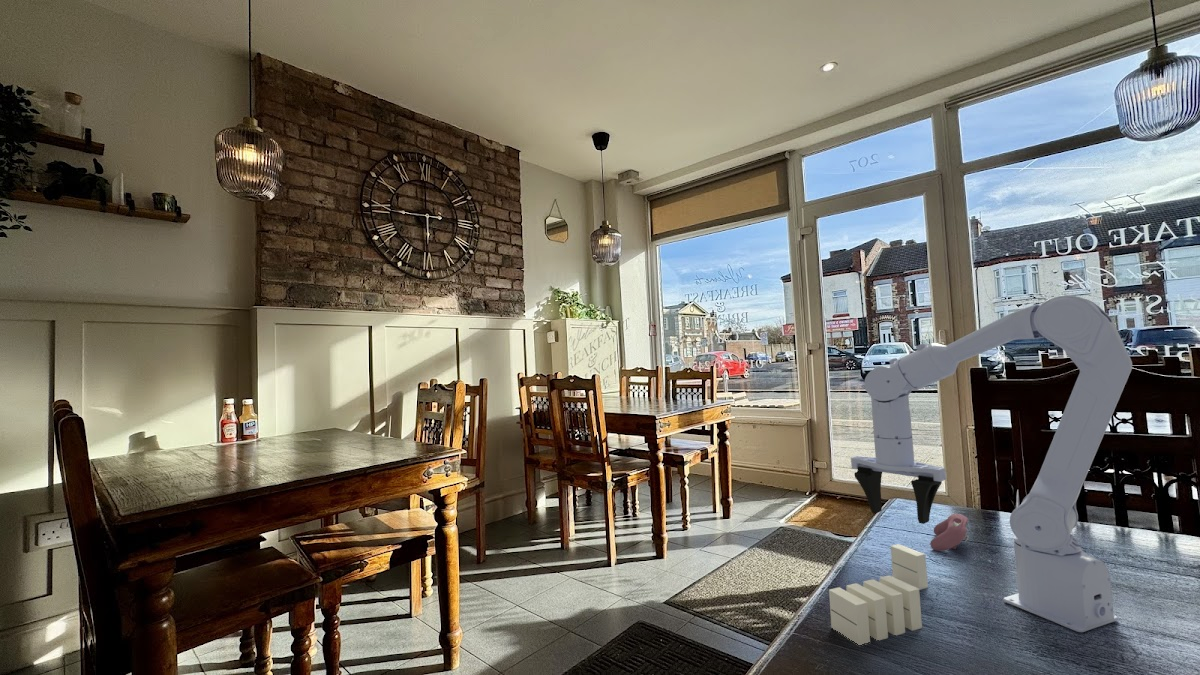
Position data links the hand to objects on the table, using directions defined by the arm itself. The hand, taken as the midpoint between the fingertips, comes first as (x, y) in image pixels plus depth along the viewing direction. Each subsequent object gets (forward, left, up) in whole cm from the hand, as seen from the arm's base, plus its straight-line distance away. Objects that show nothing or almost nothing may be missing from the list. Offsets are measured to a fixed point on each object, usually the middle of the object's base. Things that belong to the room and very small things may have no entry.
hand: (899, 516), depth 86 cm
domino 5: (-11, +14, -9) cm, 20 cm away
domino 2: (-11, +20, -9) cm, 24 cm away
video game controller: (+5, -17, -9) cm, 20 cm away
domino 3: (-11, +17, -9) cm, 22 cm away
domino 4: (-3, +3, -9) cm, 10 cm away
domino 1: (-11, +23, -9) cm, 27 cm away
